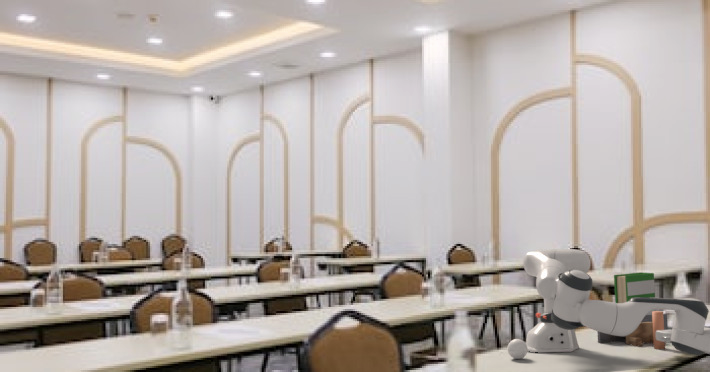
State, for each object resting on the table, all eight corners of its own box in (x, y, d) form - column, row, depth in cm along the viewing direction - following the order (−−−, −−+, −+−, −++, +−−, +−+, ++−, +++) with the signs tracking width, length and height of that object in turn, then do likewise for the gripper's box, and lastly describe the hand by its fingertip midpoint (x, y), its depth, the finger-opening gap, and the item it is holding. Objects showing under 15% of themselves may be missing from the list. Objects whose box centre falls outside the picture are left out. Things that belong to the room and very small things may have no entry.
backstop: (600, 343, 295) (599, 318, 295) (597, 342, 297) (596, 317, 297) (668, 338, 300) (667, 314, 300) (665, 337, 302) (664, 313, 302)
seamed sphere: (525, 356, 273) (524, 336, 274) (530, 360, 266) (529, 340, 266) (498, 357, 273) (497, 338, 273) (503, 361, 266) (502, 341, 266)
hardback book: (629, 329, 326) (626, 275, 327) (616, 327, 332) (613, 275, 333) (656, 325, 334) (653, 273, 335) (643, 323, 340) (640, 272, 341)
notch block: (635, 346, 286) (634, 325, 286) (626, 343, 292) (625, 323, 293) (663, 344, 287) (662, 324, 288) (653, 341, 294) (652, 321, 295)
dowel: (657, 349, 277) (655, 312, 278) (651, 347, 281) (649, 311, 282) (667, 349, 278) (665, 312, 278) (661, 347, 282) (659, 310, 282)
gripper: (668, 348, 256) (646, 341, 270) (721, 344, 259) (697, 338, 273) (667, 330, 256) (645, 324, 270) (720, 326, 260) (696, 321, 273)
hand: (672, 331), depth 271 cm, fingers open, 8 cm apart
